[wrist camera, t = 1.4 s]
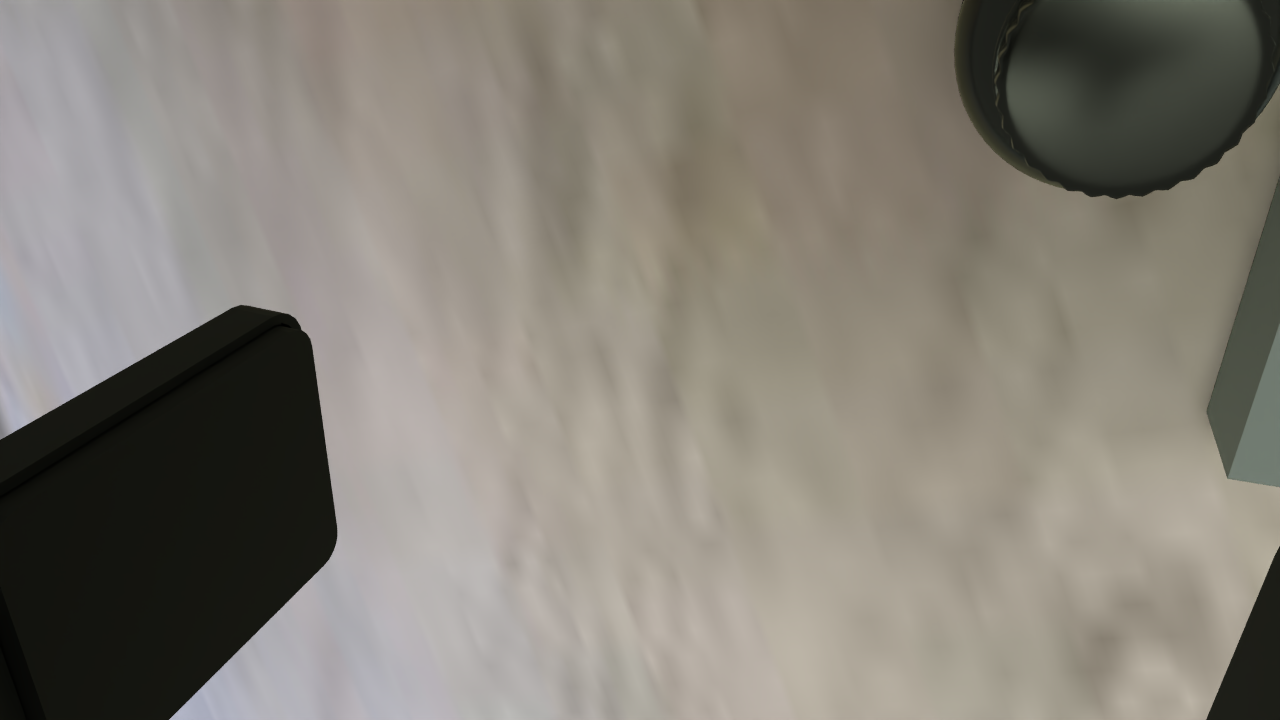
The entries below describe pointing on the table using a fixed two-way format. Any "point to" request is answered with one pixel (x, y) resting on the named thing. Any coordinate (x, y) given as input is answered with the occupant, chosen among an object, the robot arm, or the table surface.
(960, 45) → the supplement bottle
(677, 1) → the table surface
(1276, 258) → the rail rack
